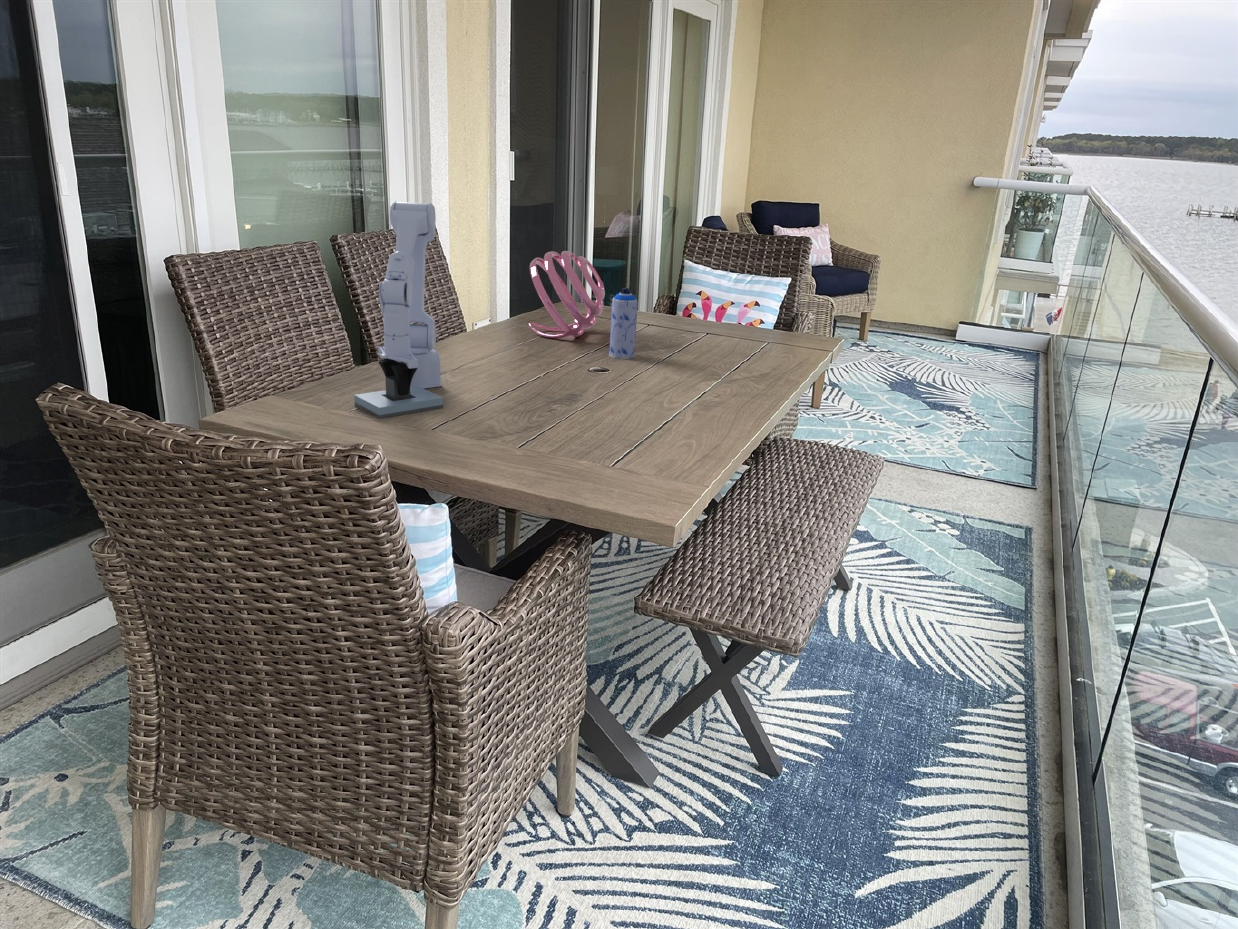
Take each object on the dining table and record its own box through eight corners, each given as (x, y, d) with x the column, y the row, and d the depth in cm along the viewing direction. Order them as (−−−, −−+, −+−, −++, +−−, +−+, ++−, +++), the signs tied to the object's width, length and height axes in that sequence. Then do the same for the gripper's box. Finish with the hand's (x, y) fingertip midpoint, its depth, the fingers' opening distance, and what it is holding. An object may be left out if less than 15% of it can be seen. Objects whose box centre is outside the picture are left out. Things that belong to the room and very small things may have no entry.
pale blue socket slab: (417, 395, 216) (416, 385, 215) (443, 407, 207) (443, 397, 207) (354, 405, 206) (354, 394, 205) (379, 418, 197) (379, 407, 196)
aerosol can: (639, 358, 266) (643, 290, 259) (614, 359, 263) (618, 290, 256) (629, 352, 272) (632, 286, 266) (604, 353, 270) (608, 286, 263)
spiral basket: (488, 273, 277) (562, 227, 270) (522, 283, 304) (590, 242, 296) (528, 353, 275) (604, 309, 268) (559, 356, 302) (628, 317, 295)
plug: (401, 395, 208) (401, 374, 207) (410, 399, 206) (409, 378, 204) (386, 398, 206) (385, 376, 204) (394, 402, 203) (393, 380, 201)
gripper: (365, 329, 203) (367, 387, 208) (396, 341, 193) (398, 402, 198) (393, 326, 208) (395, 383, 212) (425, 338, 198) (426, 398, 202)
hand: (398, 392), depth 205 cm, fingers closed on plug, 4 cm apart
